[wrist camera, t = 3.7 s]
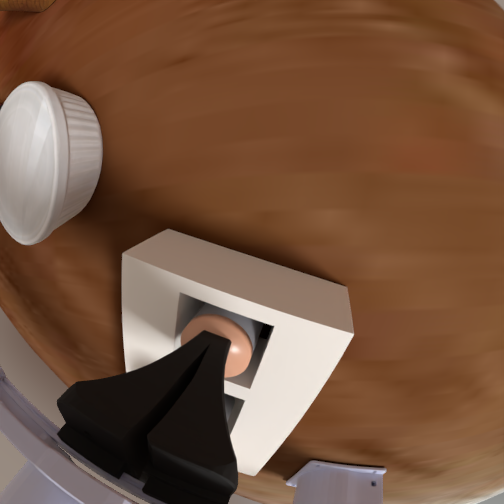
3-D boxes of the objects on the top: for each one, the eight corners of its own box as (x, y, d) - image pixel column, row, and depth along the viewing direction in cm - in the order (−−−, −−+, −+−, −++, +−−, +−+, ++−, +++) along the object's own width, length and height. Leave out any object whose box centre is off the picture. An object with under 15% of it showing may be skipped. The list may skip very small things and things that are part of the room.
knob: (275, 288, 15) (258, 337, 11) (260, 334, 17) (240, 386, 12) (219, 269, 16) (184, 309, 12) (209, 316, 17) (178, 361, 13)
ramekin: (125, 222, 17) (68, 247, 12) (42, 228, 20) (-1, 246, 15) (116, 65, 13) (59, 50, 9) (32, 112, 16) (-12, 114, 11)
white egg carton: (347, 287, 15) (355, 341, 10) (265, 437, 21) (253, 480, 16) (168, 228, 16) (115, 256, 12) (156, 396, 22) (131, 432, 18)
